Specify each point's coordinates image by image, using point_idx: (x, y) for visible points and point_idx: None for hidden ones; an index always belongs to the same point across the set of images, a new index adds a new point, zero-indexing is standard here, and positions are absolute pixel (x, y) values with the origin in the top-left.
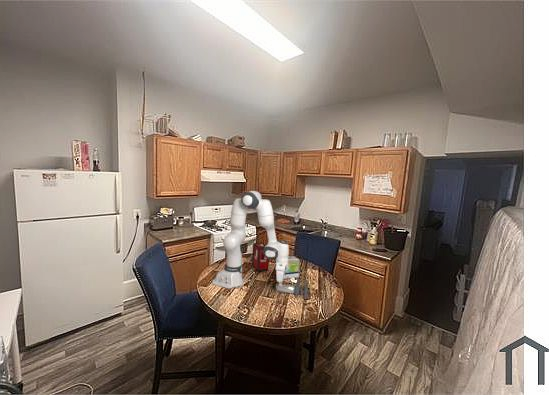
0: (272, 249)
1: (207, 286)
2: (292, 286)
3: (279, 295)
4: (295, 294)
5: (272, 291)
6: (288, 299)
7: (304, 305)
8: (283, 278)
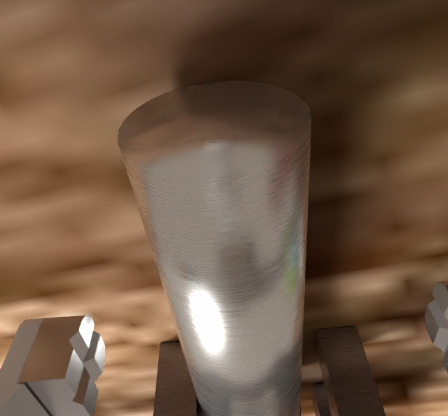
0: None
1: None
2: (233, 411)
3: (62, 187)
4: (157, 374)
5: (121, 8)
6: (48, 304)
7: None
8: (445, 352)
